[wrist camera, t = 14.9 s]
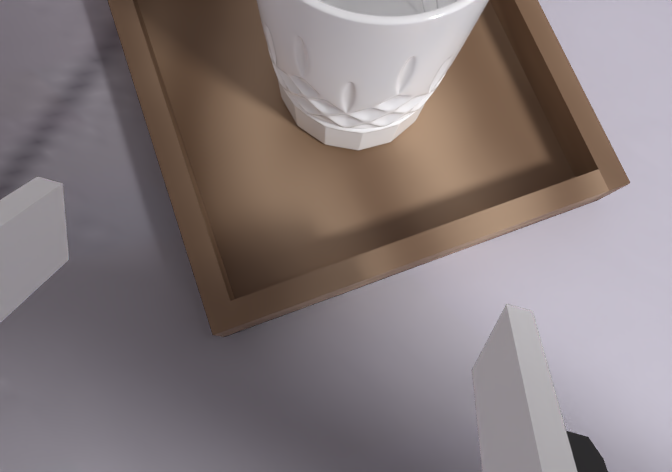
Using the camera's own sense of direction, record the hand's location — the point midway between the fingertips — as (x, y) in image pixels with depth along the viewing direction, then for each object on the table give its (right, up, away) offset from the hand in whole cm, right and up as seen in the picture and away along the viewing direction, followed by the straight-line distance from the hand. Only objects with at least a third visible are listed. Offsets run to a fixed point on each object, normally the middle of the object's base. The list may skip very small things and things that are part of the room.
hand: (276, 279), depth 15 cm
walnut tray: (+2, +8, +9) cm, 13 cm away
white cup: (+3, +8, +9) cm, 12 cm away
